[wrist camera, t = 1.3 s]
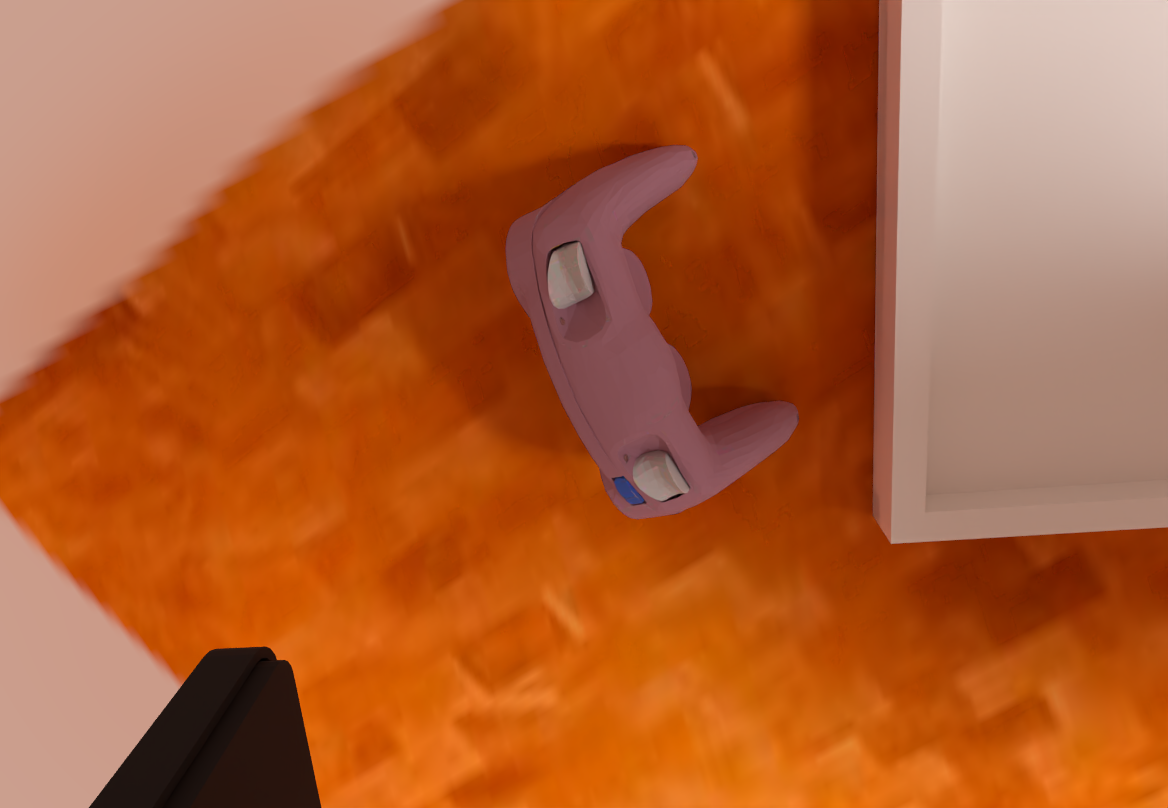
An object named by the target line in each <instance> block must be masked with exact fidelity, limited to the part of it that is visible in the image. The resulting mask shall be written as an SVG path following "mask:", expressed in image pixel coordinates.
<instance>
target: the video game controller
mask: <svg viewBox="0 0 1168 808" xmlns="http://www.w3.org/2000/svg"><path fill="white" fill-rule="evenodd" d="M697 159H698V157H697V154H696V152H695V151H694V150H693V149H692V148H690V147H688V146H686V145H670V146H664V147H659V148H655V149H652V150H648V151H644V152H641V153H638V154H635V155H632V156H629V157H627V158H624V159H622V160H620V161H618V162H616V163H614V164H611V165H609V166H606V167H603V168H601V169H599V170H597V171H595V172H593V173H592V174H590V175H589V176H587V177H585V178H584V179H582V180H580V181H579V182H577V183H576V184H574V185H573V186H571V187H570V188H569V189H567V190H566V191H564V192H563V193H561V194H560V195H558V196H557V197H555V198H554V199H552V200H551V201H550V202H548V203H547V204H545V205H544V206H542V207H541V208H539V209H537V210H534V211H532V212H530V213H528V214H526V215H524V216H522V217H520V218H518V219H517V220H516V221H515V222H514V223H513V224H512V225H511V227H510V229H509V231H508V235H507V239H506V261H507V272H508V276H509V279H510V283H511V286H512V288H513V291H514V293H515V295H516V297H517V299H518V301H519V302H520V304H521V305H522V307H523V309H524V310H525V312H526V313H527V315H528V316H529V317H530V319H531V323H532V326H533V329H534V332H535V335H536V338H537V341H538V345H539V348H540V351H541V354H542V357H543V360H544V363H545V365H546V368H547V370H548V373H549V375H550V377H551V380H552V382H553V384H554V387H555V389H556V391H557V394H558V396H559V398H560V401H561V403H562V405H563V407H564V409H565V411H566V413H567V415H568V417H569V418H570V420H571V422H572V424H573V426H574V428H575V430H576V432H577V433H578V435H579V437H580V439H581V440H582V442H583V444H584V445H585V447H586V449H587V450H588V452H589V454H590V455H591V457H592V459H593V460H594V461H595V462H596V464H597V465H598V466H599V468H600V474H601V478H602V481H603V484H604V487H605V490H606V492H607V493H608V495H609V497H610V498H611V500H612V502H613V503H614V505H615V506H616V507H617V508H618V509H619V510H620V511H621V512H622V513H623V514H625V515H626V516H628V517H630V518H634V519H644V518H651V517H658V516H665V515H673V514H678V513H680V512H682V511H683V510H685V509H687V508H690V507H693V506H696V505H698V504H699V503H701V502H703V501H705V500H707V499H709V498H710V497H712V496H714V495H716V494H717V493H718V492H720V491H721V490H723V489H724V488H726V487H727V486H728V485H730V484H731V483H733V482H734V481H735V480H737V479H738V478H740V477H741V476H742V475H744V474H745V473H747V472H748V471H749V470H751V469H752V468H753V467H755V466H756V465H757V464H759V463H760V462H761V461H763V460H764V459H765V458H767V457H768V456H769V455H771V454H772V453H773V452H775V451H776V450H777V449H778V448H780V447H781V446H782V445H783V444H784V443H785V442H786V441H788V440H789V438H790V436H791V435H792V433H793V431H794V430H795V428H796V426H797V425H798V421H799V416H798V410H797V408H796V406H795V405H793V404H792V403H789V402H785V401H770V402H761V403H755V404H751V405H747V406H743V407H740V408H737V409H734V410H732V411H729V412H727V413H725V414H722V415H720V416H717V417H715V418H712V419H710V420H708V421H706V422H705V423H703V424H701V425H699V426H697V425H696V423H695V421H694V420H693V418H692V416H691V415H690V413H689V406H690V401H691V391H692V388H691V380H690V376H689V372H688V369H687V367H686V365H685V363H684V361H683V358H682V357H681V356H680V354H679V353H678V352H677V350H676V349H675V348H674V347H672V346H671V345H669V344H667V343H666V341H665V340H664V338H663V336H662V335H661V333H660V331H659V330H658V328H657V326H656V325H655V323H654V322H653V321H652V319H651V318H650V316H649V314H650V312H651V308H652V295H651V287H650V283H649V280H648V277H647V273H646V271H645V269H644V267H643V265H642V263H641V261H640V260H639V259H638V257H637V256H636V255H635V254H634V253H633V252H632V251H630V250H627V249H625V248H622V245H621V241H622V237H623V234H624V233H625V232H626V230H627V229H628V228H629V227H630V226H631V225H632V224H633V223H634V222H635V221H636V220H637V219H638V218H639V217H641V216H642V215H643V214H644V213H645V212H646V211H648V210H649V209H650V208H652V207H653V206H655V205H656V204H658V203H659V202H660V201H662V200H663V199H665V198H666V197H668V196H669V195H670V194H672V193H673V192H675V191H676V190H678V189H679V188H680V187H681V186H682V185H683V184H684V183H685V182H686V180H687V179H688V178H689V177H690V175H691V174H692V172H693V171H694V169H695V167H696V165H697Z"/></svg>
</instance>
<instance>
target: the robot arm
mask: <svg viewBox="0 0 1168 808" xmlns="http://www.w3.org/2000/svg"><path fill="white" fill-rule="evenodd" d="M89 808H321V804H320V799H319V794H318V790H317V785H316V780H315V775H314V770H313V765H312V761H311V756H310V751H309V746H308V741H307V737H306V732H305V727H304V722H303V717H302V712H301V708H300V703H299V698H298V693H297V688H296V683H295V679H294V674H293V670H292V667H291V665H290V664H289V662H288V661H285V660H277V659H276V656H275V654H274V653H273V651H272V650H271V649H270V648H268V647H248V648H225V649H214V650H211V651H209V652H208V653H207V654H206V655H205V656H204V657H203V659H202V660H201V661H200V663H199V664H198V665H197V666H196V668H195V669H194V670H193V672H192V673H191V674H190V676H189V677H188V678H187V680H186V681H185V682H184V684H183V685H182V686H181V687H180V689H179V690H178V691H177V693H176V694H175V695H174V697H173V698H172V699H171V701H170V702H169V703H168V705H167V706H166V707H165V708H164V710H163V711H162V712H161V714H160V715H159V716H158V718H157V719H156V720H155V722H154V723H153V724H152V726H151V727H150V728H149V729H148V731H147V732H146V734H145V735H144V736H143V737H142V739H141V740H140V741H139V743H138V744H137V745H136V747H135V748H134V749H133V750H132V752H131V753H130V754H129V756H128V757H127V758H126V760H125V761H124V762H123V764H122V765H121V766H120V768H119V769H118V770H117V771H116V773H115V774H114V776H113V777H112V778H111V779H110V781H109V782H108V783H107V785H106V786H105V787H104V789H103V790H102V791H101V793H100V794H99V795H98V796H97V798H96V799H95V800H94V802H93V803H92V804H91V806H90V807H89Z"/></svg>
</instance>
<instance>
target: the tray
mask: <svg viewBox="0 0 1168 808" xmlns="http://www.w3.org/2000/svg"><path fill="white" fill-rule="evenodd" d="M873 517H874V518H875V520H876V521H877V523H878V525H879V526H880V528H881V529H882V531H883V532H884V534H885V535H886V537H887V539H888V540H889V542H890V543H891V544H897V543H913V542H930V541H947V540H963V539H980V538H997V537H1013V536H1030V535H1047V534H1063V533H1080V532H1097V531H1113V530H1130V529H1147V528H1163V527H1168V0H879V60H878V139H877V217H876V295H875V374H874V452H873Z"/></svg>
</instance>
